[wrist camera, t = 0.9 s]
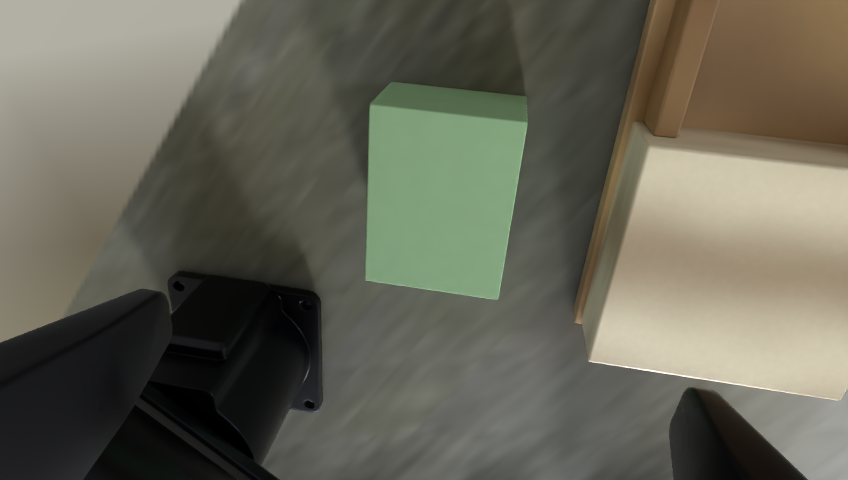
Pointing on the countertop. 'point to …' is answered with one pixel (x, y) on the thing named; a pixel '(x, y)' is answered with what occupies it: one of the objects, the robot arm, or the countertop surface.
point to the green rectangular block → (442, 186)
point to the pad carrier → (728, 200)
